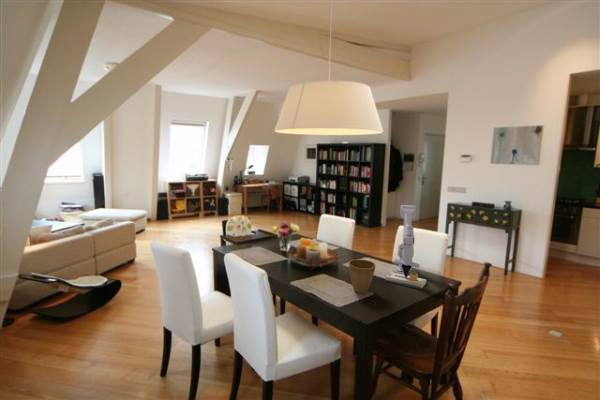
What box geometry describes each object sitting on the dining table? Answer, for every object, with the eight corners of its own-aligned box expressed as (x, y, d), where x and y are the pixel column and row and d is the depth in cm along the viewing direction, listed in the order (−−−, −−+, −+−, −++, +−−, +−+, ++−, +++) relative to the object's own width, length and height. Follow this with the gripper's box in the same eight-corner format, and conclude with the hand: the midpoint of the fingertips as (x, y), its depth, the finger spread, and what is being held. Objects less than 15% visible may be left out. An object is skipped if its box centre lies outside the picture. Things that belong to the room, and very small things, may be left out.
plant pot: (350, 296, 180) (351, 268, 177) (345, 285, 194) (346, 259, 192) (377, 296, 180) (378, 268, 178) (370, 285, 195) (372, 259, 192)
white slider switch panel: (390, 274, 212) (390, 271, 211) (426, 282, 200) (426, 279, 199) (385, 279, 204) (385, 276, 204) (422, 287, 192) (422, 284, 192)
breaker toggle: (410, 277, 201) (411, 270, 201) (417, 279, 199) (418, 272, 198) (409, 279, 199) (409, 272, 198) (416, 280, 197) (416, 273, 196)
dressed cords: (392, 273, 214) (392, 271, 214) (427, 280, 203) (427, 278, 203) (384, 281, 201) (384, 279, 201) (420, 289, 189) (420, 287, 189)
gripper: (393, 254, 200) (392, 275, 202) (418, 259, 192) (416, 281, 194) (397, 251, 206) (395, 272, 208) (421, 256, 198) (419, 277, 200)
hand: (406, 276), depth 201 cm, fingers closed
